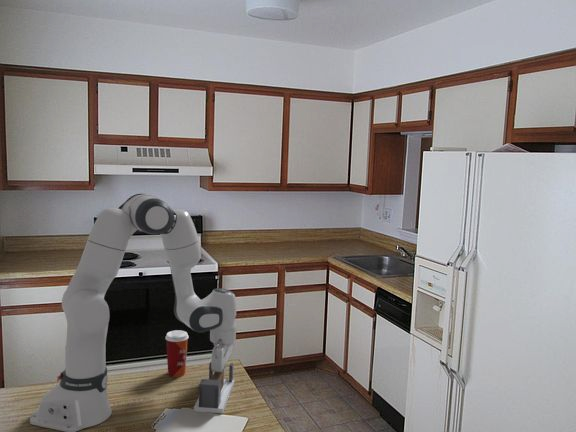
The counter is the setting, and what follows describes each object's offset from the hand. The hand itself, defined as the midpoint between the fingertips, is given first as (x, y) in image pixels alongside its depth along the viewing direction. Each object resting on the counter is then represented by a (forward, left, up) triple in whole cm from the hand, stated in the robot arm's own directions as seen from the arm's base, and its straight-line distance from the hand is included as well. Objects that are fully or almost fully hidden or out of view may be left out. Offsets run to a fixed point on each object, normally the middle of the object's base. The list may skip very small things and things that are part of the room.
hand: (222, 373), depth 172 cm
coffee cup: (-18, +5, -4) cm, 19 cm away
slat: (0, -12, -2) cm, 12 cm away
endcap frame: (0, -10, -4) cm, 10 cm away
